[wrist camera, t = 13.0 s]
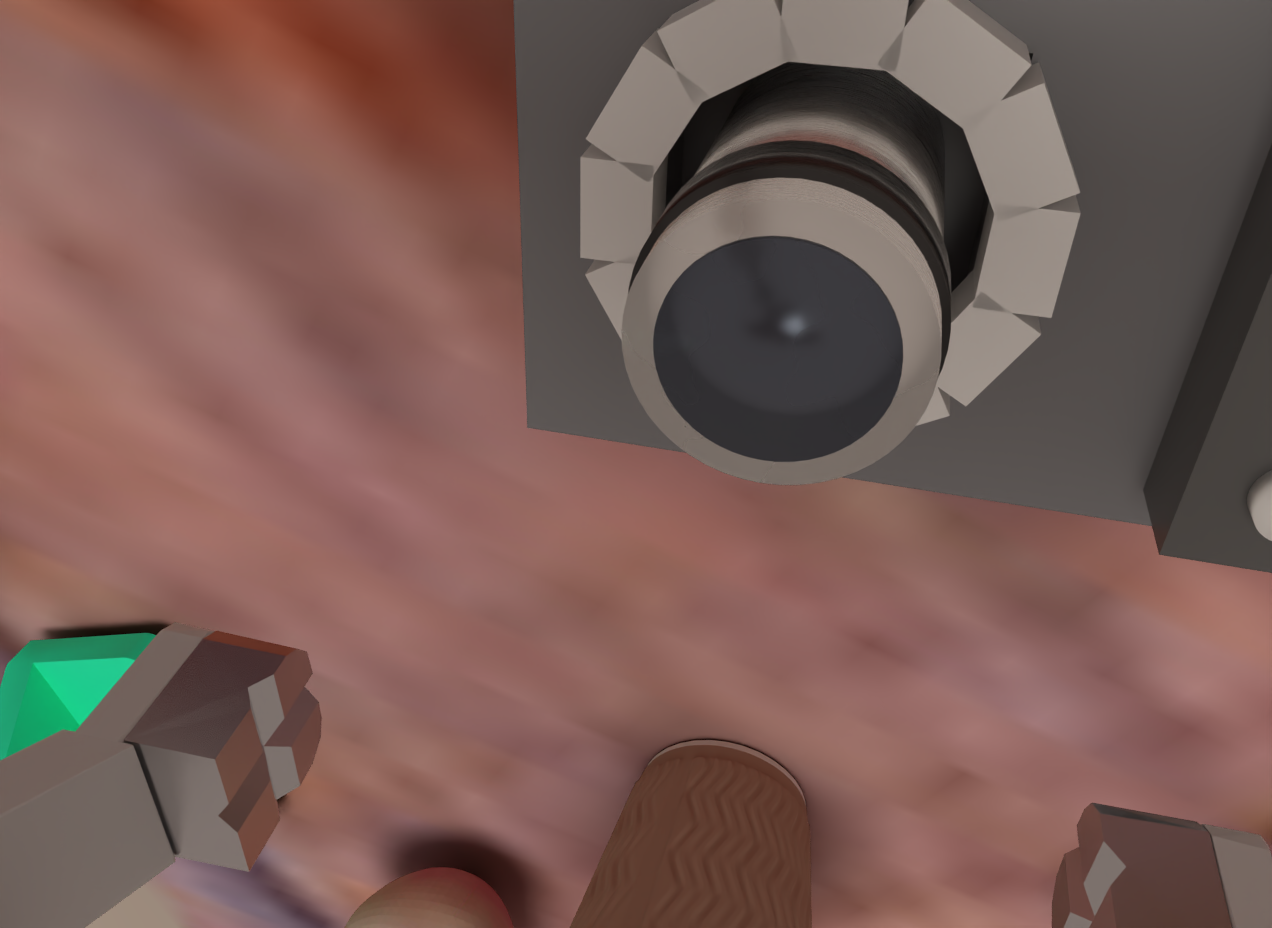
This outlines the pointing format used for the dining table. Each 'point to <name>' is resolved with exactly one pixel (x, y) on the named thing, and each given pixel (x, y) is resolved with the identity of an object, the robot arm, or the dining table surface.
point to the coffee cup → (706, 846)
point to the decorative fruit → (433, 903)
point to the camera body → (960, 233)
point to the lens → (798, 281)
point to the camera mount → (60, 684)
